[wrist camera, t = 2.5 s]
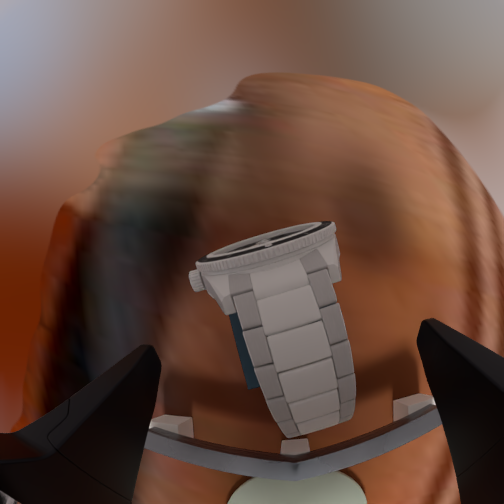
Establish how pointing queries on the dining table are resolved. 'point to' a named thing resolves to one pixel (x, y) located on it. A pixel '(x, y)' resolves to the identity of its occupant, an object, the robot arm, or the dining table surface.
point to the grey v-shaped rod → (297, 445)
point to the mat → (300, 491)
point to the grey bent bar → (294, 464)
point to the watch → (287, 322)
